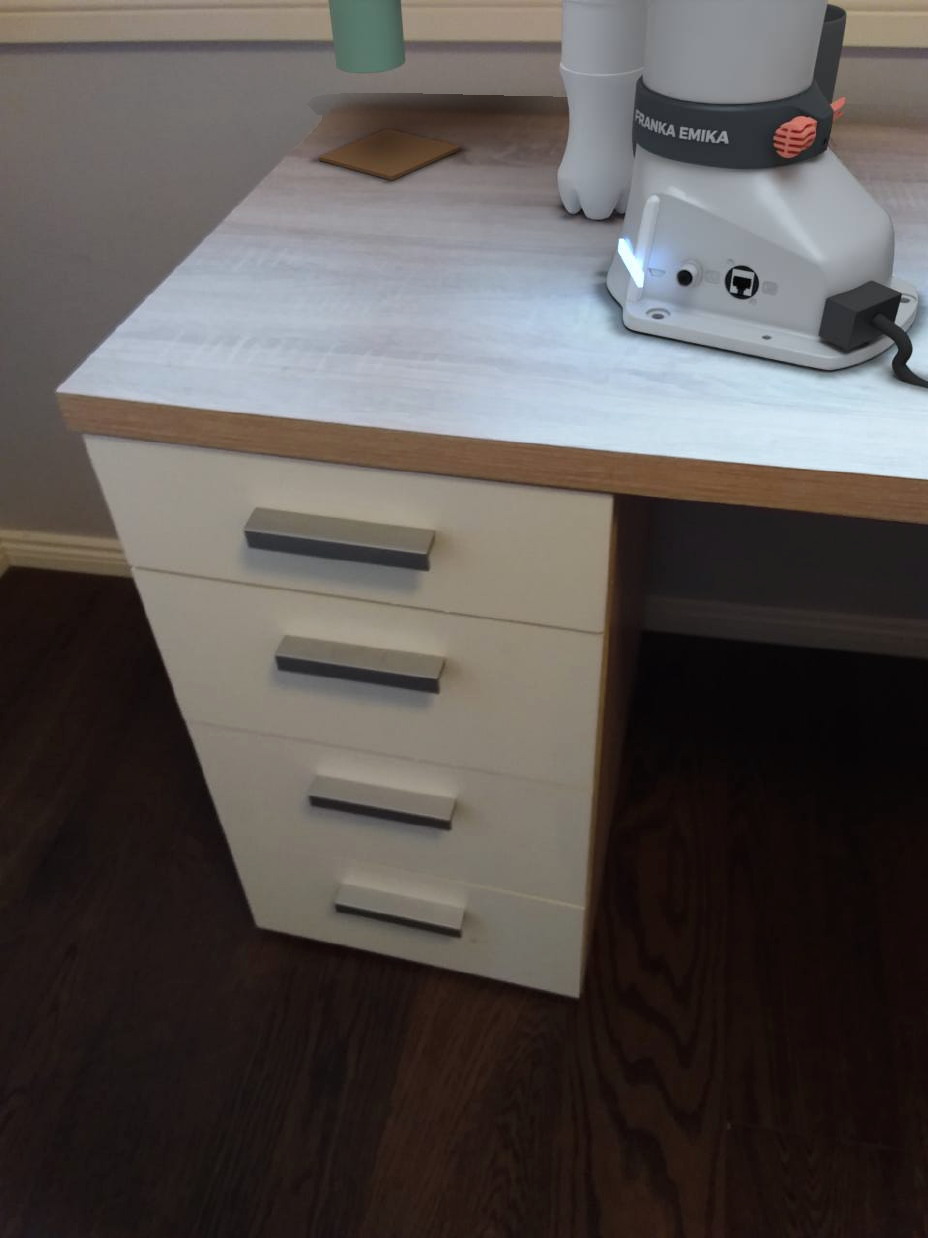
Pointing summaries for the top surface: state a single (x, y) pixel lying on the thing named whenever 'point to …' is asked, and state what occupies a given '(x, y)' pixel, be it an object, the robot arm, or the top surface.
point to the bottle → (367, 35)
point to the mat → (389, 154)
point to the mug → (830, 50)
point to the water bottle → (600, 101)
